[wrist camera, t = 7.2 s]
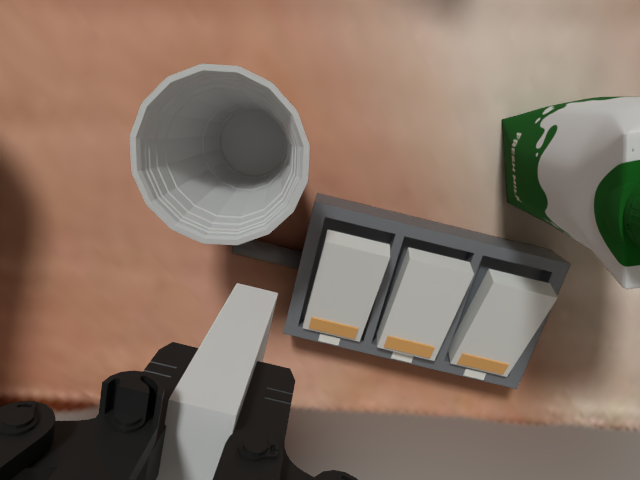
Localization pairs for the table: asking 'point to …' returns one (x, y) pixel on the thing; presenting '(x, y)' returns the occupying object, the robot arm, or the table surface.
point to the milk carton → (582, 175)
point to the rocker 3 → (500, 322)
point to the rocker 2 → (423, 303)
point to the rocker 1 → (346, 285)
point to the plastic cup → (219, 154)
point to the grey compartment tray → (400, 236)
